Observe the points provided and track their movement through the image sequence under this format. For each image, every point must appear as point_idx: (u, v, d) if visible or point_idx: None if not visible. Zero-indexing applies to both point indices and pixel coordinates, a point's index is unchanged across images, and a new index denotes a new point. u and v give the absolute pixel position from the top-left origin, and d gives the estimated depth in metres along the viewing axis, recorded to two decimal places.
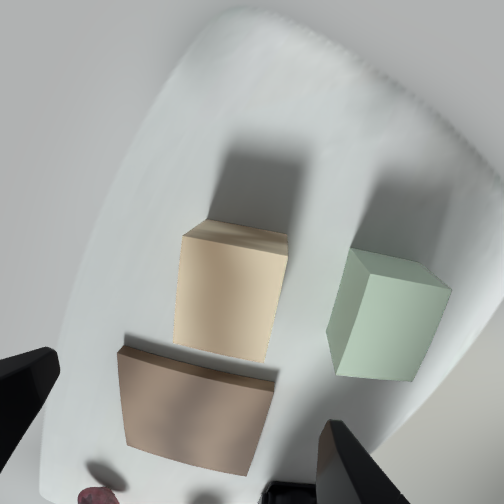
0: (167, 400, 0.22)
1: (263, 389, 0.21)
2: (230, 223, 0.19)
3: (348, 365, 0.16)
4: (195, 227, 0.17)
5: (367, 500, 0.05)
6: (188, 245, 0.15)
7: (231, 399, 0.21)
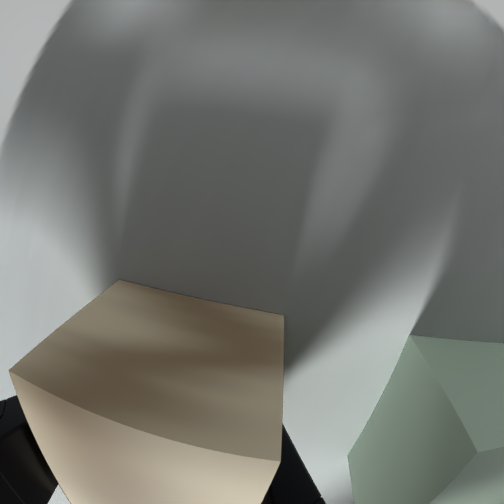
0: None
1: None
2: (162, 292, 0.09)
3: None
4: (66, 322, 0.06)
5: (278, 498, 0.05)
6: (25, 393, 0.04)
7: None
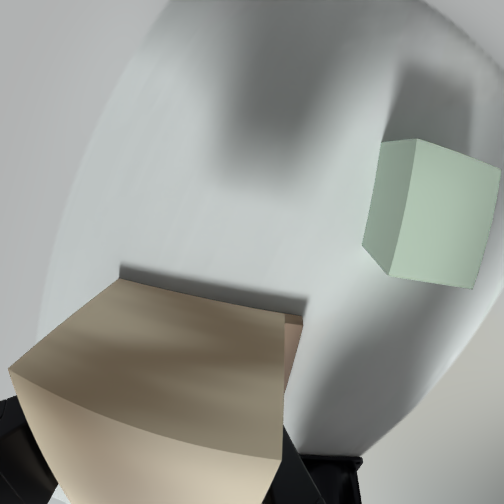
0: None
1: (290, 322, 0.18)
2: (163, 290, 0.09)
3: (402, 261, 0.12)
4: (66, 321, 0.06)
5: (278, 498, 0.05)
6: (25, 392, 0.04)
7: None
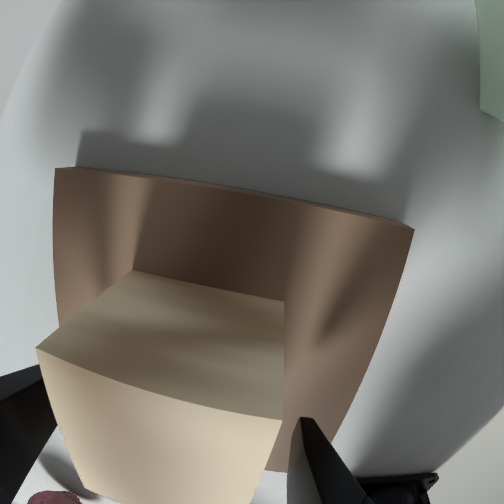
0: None
1: (391, 223, 0.09)
2: (173, 280, 0.10)
3: None
4: (86, 306, 0.07)
5: (328, 501, 0.05)
6: (51, 368, 0.05)
7: (314, 260, 0.09)
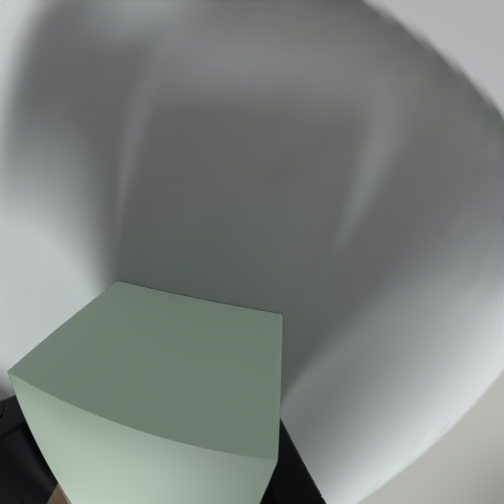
0: None
1: None
2: None
3: None
4: None
5: (278, 498, 0.05)
6: None
7: None
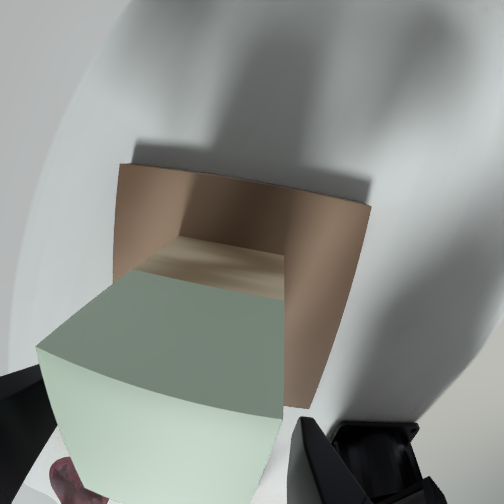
0: None
1: (355, 202, 0.13)
2: (208, 242, 0.14)
3: (93, 483, 0.06)
4: (156, 252, 0.12)
5: (328, 501, 0.05)
6: None
7: (303, 227, 0.14)
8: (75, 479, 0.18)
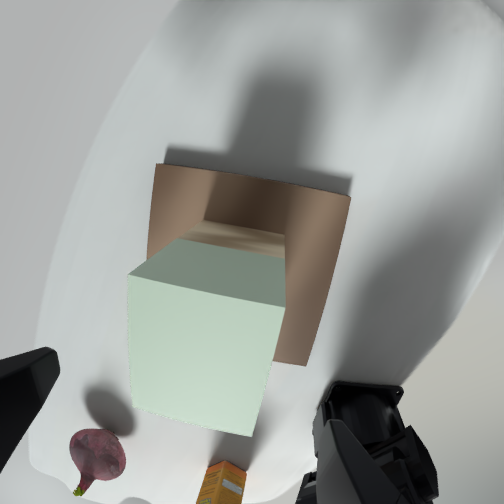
0: None
1: (338, 194, 0.18)
2: (226, 224, 0.19)
3: (142, 398, 0.11)
4: (190, 229, 0.16)
5: (367, 500, 0.05)
6: None
7: (299, 213, 0.18)
8: (96, 447, 0.22)
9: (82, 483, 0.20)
